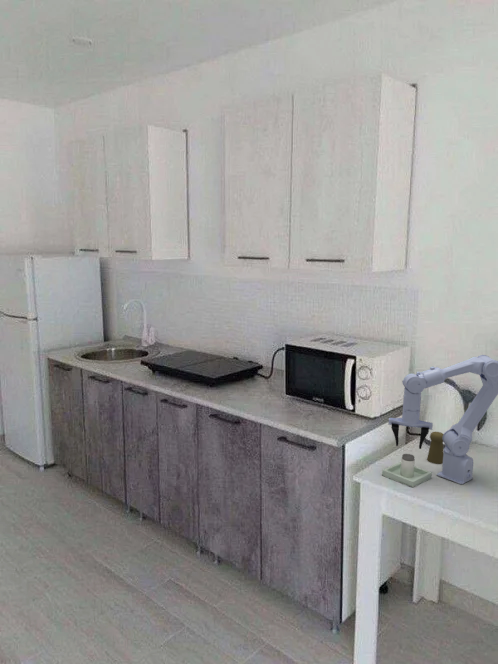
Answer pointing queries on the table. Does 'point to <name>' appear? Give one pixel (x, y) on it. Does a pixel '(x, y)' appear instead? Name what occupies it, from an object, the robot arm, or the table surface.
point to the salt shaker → (407, 465)
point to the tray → (394, 474)
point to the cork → (436, 448)
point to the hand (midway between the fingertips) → (408, 446)
